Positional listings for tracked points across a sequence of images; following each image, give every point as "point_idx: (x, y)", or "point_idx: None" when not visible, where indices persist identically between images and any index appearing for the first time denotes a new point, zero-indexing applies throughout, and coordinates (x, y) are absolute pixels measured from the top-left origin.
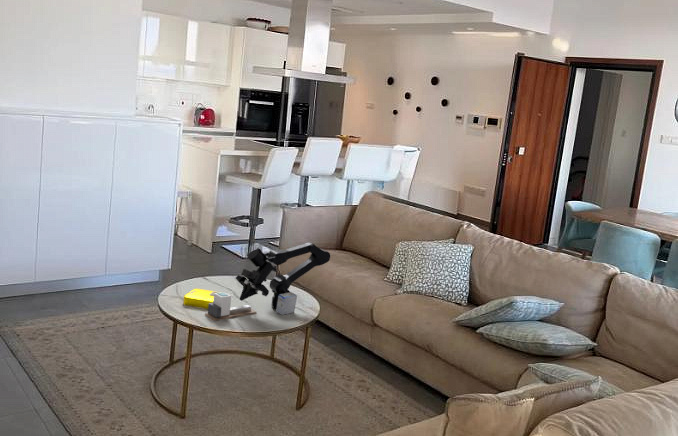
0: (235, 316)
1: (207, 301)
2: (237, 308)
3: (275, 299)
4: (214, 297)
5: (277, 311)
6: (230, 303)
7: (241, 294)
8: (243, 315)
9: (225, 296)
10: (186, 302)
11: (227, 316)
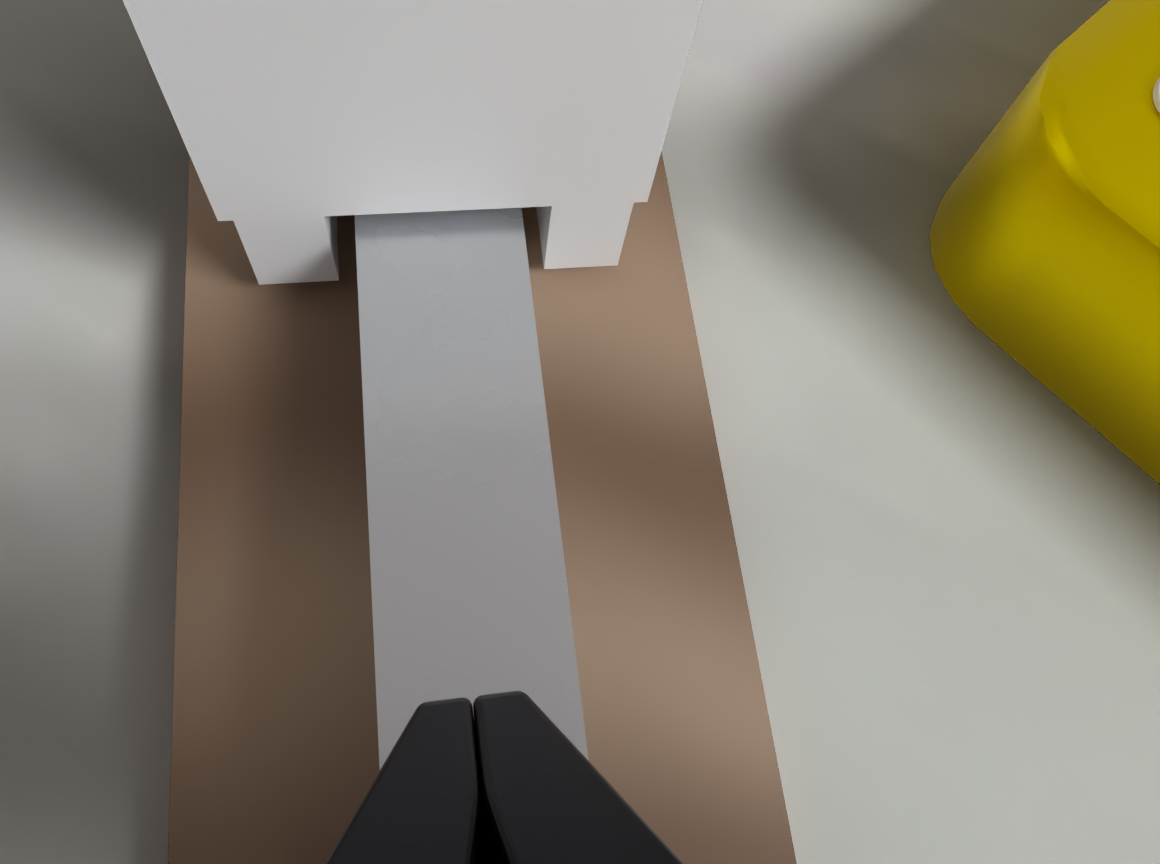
0: (190, 465)
1: (1089, 21)
2: (410, 622)
3: None
4: None
5: None
6: (129, 13)
7: (607, 842)
8: (182, 768)
9: None
10: None
11: (225, 227)
